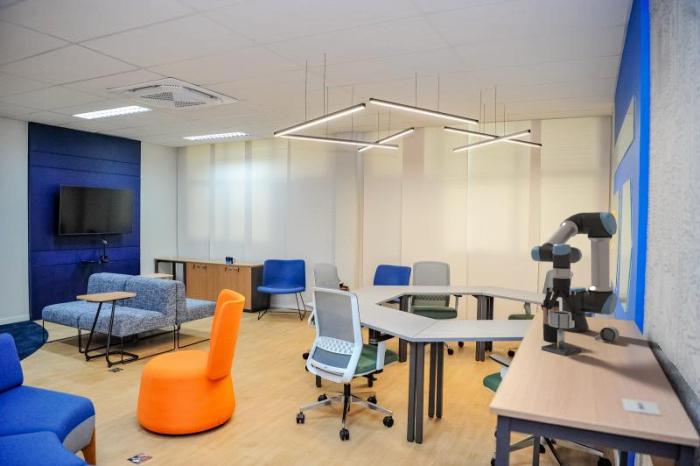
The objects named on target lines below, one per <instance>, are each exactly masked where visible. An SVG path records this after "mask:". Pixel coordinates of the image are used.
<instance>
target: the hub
mask: <svg viewBox="0 0 700 466" xmlns="http://www.w3.org/2000/svg"><path fill="white" fill-rule="evenodd" d="M570 313H571V312H566V311H562V310H559V311H550V312H549V325H550V326H551V327H556V328H569V318H570V315H569V314H570Z"/></svg>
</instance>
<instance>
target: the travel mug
mask: <svg viewBox="0 0 700 466" xmlns="http://www.w3.org/2000/svg"><path fill="white" fill-rule="evenodd" d="M544 300H545V299H543V300H542V302H543V303H542V305H543V304H544ZM552 309H553V311H560V301H559V300H558V299H557V300H556V302H555V303H554V305H553V307H552ZM557 330H560V329H559V328H556V327H551V326H550V325H549V323H548V316H547V308H545V307H543V306H542V333H543V336H542V338H543V339H542V340H543V341H545V342H548V343H557Z"/></svg>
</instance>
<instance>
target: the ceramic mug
mask: <svg viewBox="0 0 700 466" xmlns="http://www.w3.org/2000/svg"><path fill="white" fill-rule="evenodd" d="M619 337H620V332H619V330H618V328H617V327H615V326H612V325H608V326H604V327H602V328H601V329H600V330H599V333H598V335H595V336H594V339H595V340H602V342H605V343H606V342H607V343H608V344H610V343H613V342H615V341H616V340H618V339H619ZM607 343H606V344H607Z"/></svg>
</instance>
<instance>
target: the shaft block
mask: <svg viewBox="0 0 700 466" xmlns="http://www.w3.org/2000/svg"><path fill="white" fill-rule="evenodd" d="M565 333H566V331H565V330H561V329H559V330H557V342H553V343H549V344H545V345H542V346H540V347H541V348H540V350H541V351H545V352H549V353H553V354H557V355H560V356H565V357H566V356H570V355H573V354H577V352H578V353H581V352H582V349H581V348H580V347H576V346H571V345H569V344H568V345H567V344H565Z"/></svg>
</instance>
